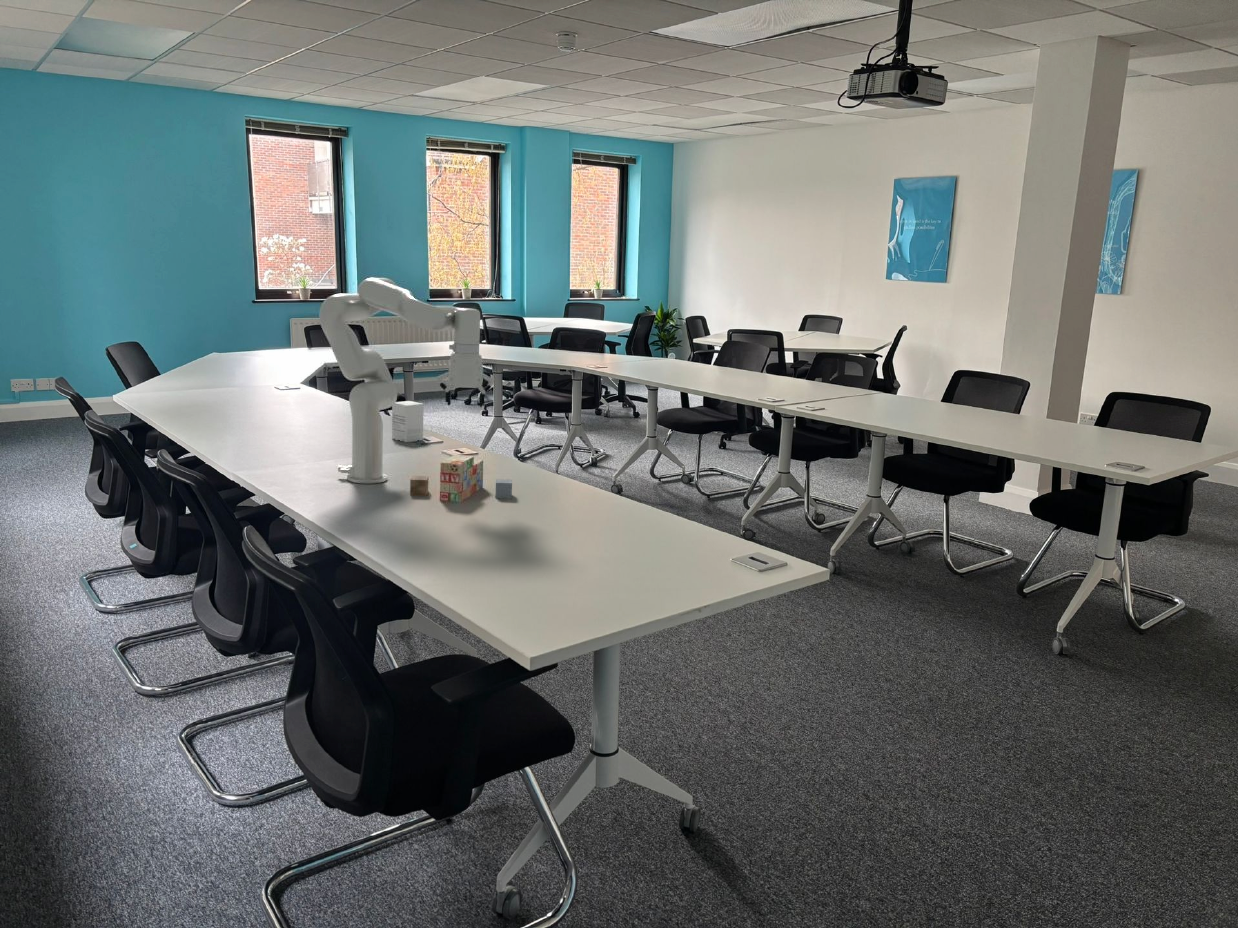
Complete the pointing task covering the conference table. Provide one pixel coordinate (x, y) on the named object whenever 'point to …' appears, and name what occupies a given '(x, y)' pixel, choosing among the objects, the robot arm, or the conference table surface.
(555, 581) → the conference table surface
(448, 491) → the stack of blocks
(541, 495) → the conference table surface
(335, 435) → the conference table surface
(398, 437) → the supplement box
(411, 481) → the walnut cube
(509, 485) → the slate cube
